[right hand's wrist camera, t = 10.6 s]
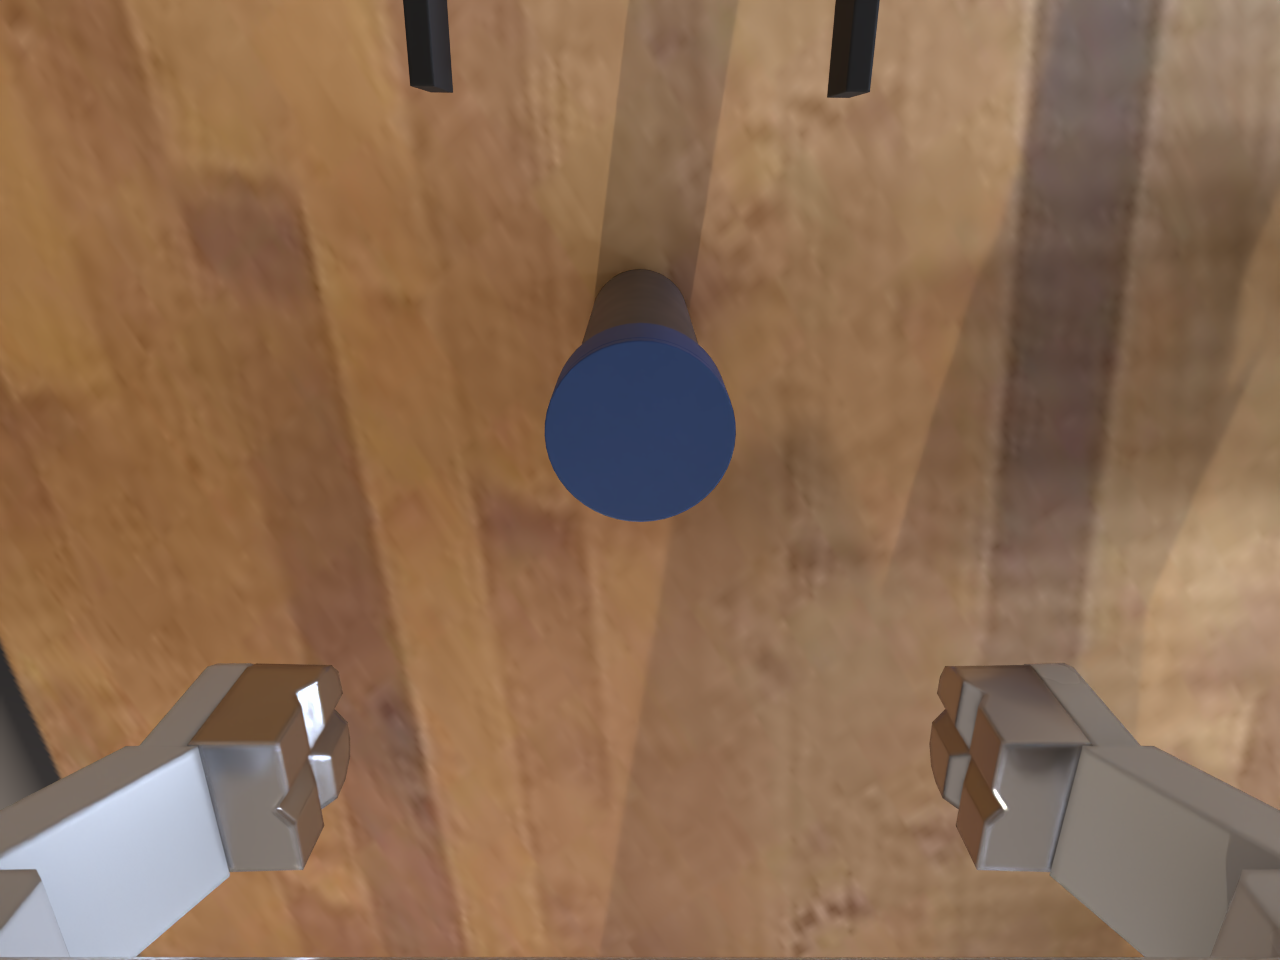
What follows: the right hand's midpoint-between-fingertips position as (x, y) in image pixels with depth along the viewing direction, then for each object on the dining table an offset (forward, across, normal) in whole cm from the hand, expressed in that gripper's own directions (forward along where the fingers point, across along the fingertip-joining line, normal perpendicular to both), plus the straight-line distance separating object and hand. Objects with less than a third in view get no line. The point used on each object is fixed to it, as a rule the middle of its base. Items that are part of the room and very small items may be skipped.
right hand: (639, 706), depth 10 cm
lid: (+11, 0, 0) cm, 11 cm away
